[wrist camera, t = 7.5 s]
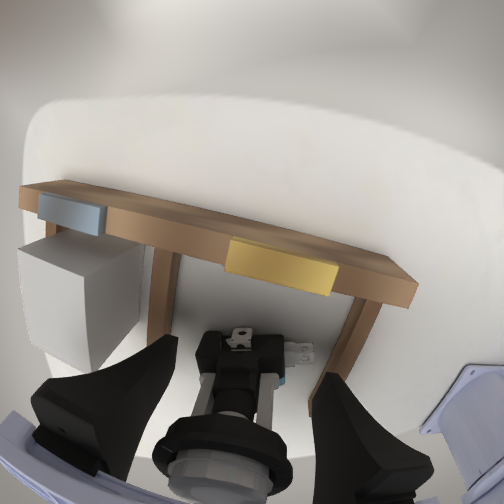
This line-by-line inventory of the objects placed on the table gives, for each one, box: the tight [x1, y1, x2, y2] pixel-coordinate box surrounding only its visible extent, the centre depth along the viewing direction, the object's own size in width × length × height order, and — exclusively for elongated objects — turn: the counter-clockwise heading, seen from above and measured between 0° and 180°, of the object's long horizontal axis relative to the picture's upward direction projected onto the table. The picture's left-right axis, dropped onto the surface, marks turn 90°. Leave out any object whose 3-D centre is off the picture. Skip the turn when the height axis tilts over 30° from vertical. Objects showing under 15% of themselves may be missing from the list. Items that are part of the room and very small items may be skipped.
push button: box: [152, 328, 315, 504], centre depth 12 cm, size 7×5×10 cm
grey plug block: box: [17, 228, 145, 374], centre depth 13 cm, size 4×6×6 cm
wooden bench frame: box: [19, 180, 419, 417], centre depth 14 cm, size 20×11×5 cm, turn 77°
